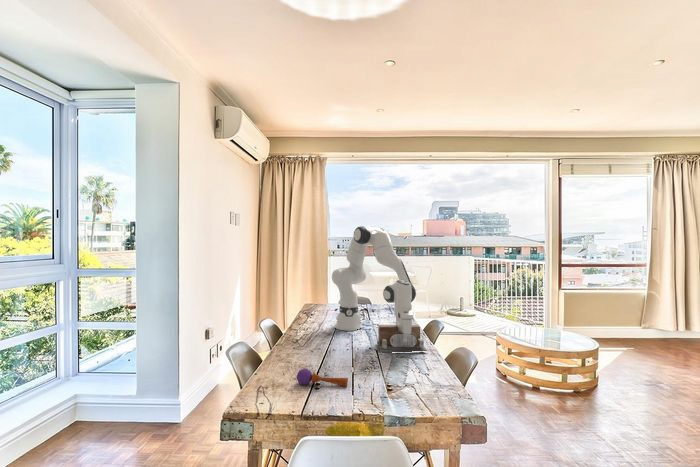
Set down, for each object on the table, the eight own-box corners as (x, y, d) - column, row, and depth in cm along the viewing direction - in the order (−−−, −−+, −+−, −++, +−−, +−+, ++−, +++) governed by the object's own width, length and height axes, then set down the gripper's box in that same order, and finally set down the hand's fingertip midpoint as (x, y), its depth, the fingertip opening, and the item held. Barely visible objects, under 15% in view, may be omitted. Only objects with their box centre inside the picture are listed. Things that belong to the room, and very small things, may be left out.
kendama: (347, 379, 131) (295, 373, 133) (345, 394, 132) (294, 387, 134) (348, 371, 137) (299, 364, 139) (347, 384, 138) (298, 378, 140)
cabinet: (377, 344, 190) (377, 324, 190) (418, 343, 191) (418, 324, 191) (382, 353, 174) (382, 332, 174) (427, 353, 175) (427, 332, 175)
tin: (417, 347, 180) (417, 331, 180) (418, 349, 176) (418, 332, 177) (388, 347, 180) (388, 330, 180) (388, 348, 177) (388, 332, 177)
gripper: (393, 308, 189) (392, 333, 189) (401, 316, 169) (400, 344, 169) (404, 308, 190) (404, 333, 190) (414, 316, 169) (413, 344, 169)
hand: (402, 338), depth 179 cm, fingers open, 8 cm apart
